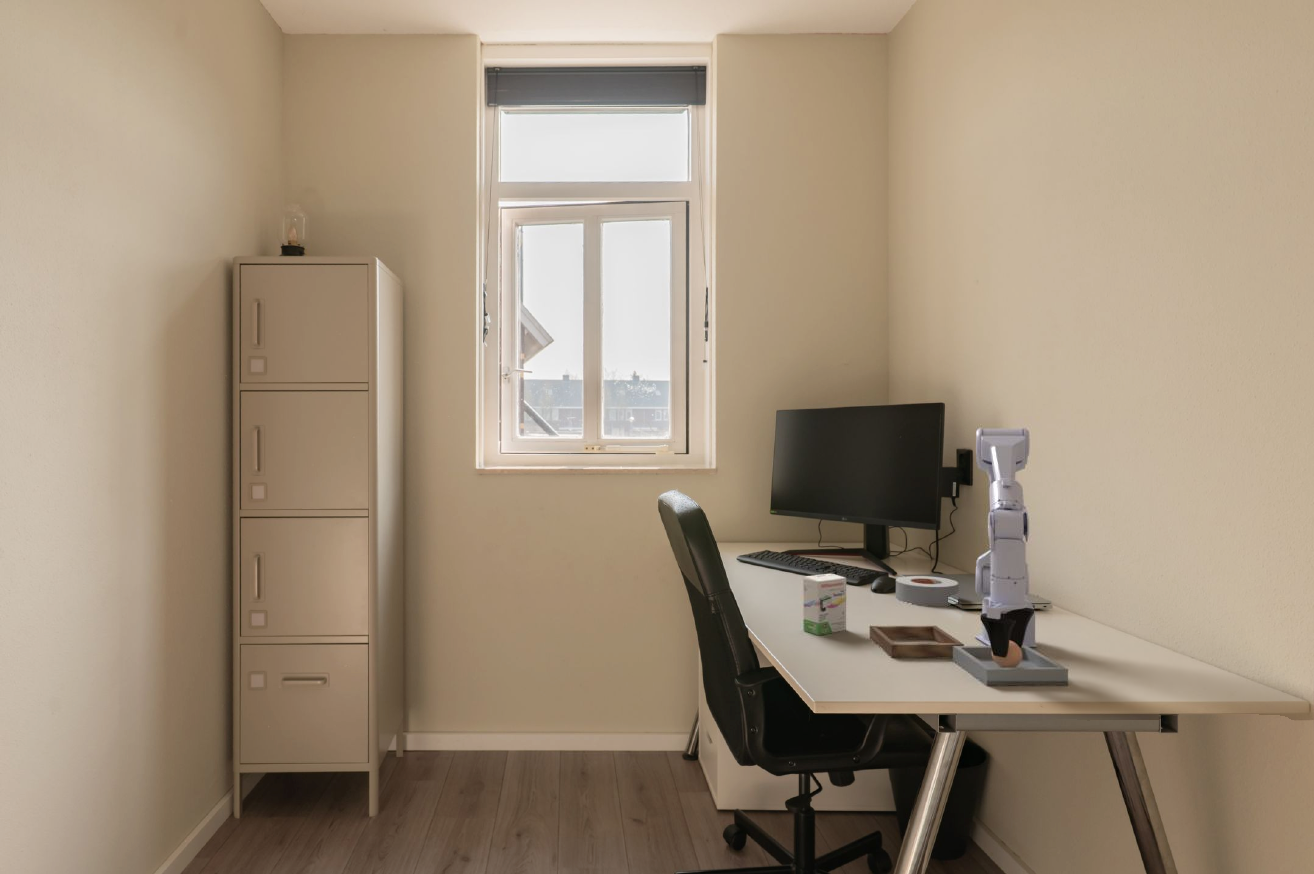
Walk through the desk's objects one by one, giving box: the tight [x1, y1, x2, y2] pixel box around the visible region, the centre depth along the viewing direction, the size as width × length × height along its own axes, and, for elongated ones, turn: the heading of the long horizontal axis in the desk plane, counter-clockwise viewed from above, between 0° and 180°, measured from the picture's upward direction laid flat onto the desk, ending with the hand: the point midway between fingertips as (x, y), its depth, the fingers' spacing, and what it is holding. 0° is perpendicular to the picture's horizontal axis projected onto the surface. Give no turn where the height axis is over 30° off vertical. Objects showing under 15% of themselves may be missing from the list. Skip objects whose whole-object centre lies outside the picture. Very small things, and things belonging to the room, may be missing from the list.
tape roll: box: [895, 575, 960, 607], centre depth 194 cm, size 15×15×5 cm
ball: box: [992, 641, 1022, 668], centre depth 135 cm, size 5×5×5 cm
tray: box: [952, 645, 1069, 687], centre depth 135 cm, size 14×14×3 cm
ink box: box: [802, 573, 847, 636], centre depth 163 cm, size 8×5×12 cm, turn 121°
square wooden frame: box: [869, 625, 965, 658], centre depth 151 cm, size 14×14×2 cm
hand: (1007, 651), depth 135 cm, fingers open, 7 cm apart
